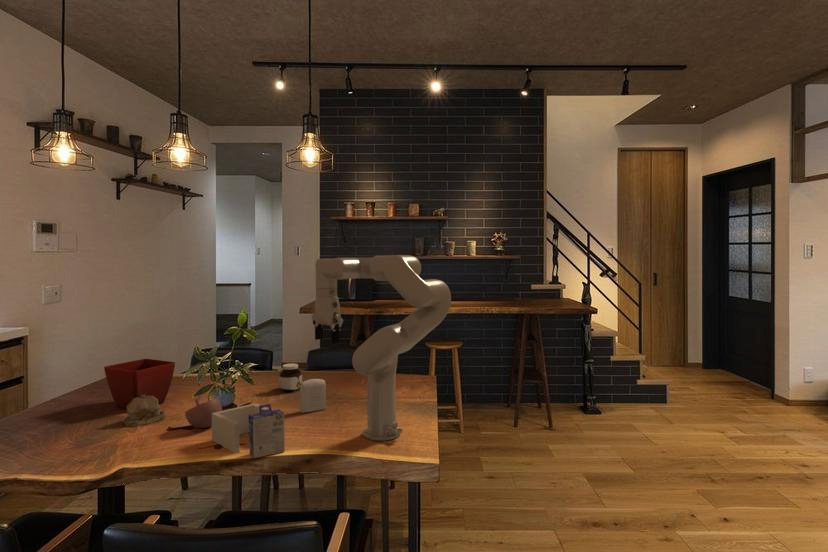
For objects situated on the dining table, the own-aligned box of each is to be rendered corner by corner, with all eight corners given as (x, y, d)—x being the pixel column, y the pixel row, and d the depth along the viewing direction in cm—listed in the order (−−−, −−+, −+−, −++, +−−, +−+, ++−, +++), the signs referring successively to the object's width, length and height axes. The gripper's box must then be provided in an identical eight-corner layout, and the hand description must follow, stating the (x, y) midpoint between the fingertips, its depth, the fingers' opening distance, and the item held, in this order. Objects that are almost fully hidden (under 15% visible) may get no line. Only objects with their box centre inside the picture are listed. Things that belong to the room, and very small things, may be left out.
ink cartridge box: (279, 446, 158) (279, 401, 158) (285, 451, 154) (285, 405, 153) (248, 453, 153) (247, 406, 152) (253, 459, 148) (252, 411, 148)
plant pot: (177, 401, 210) (176, 361, 210) (135, 414, 193) (134, 371, 192) (146, 396, 218) (145, 358, 218) (103, 408, 201) (102, 366, 200)
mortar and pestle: (203, 420, 185) (203, 389, 184) (229, 423, 181) (228, 392, 180) (177, 430, 174) (177, 398, 173) (204, 434, 169) (203, 401, 169)
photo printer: (323, 406, 201) (322, 376, 200) (327, 409, 197) (327, 378, 197) (298, 411, 195) (298, 380, 195) (302, 414, 191) (302, 382, 191)
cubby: (279, 439, 164) (279, 412, 164) (234, 453, 153) (234, 424, 153) (255, 428, 175) (255, 403, 175) (212, 440, 164) (211, 413, 164)
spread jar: (288, 394, 220) (288, 368, 220) (270, 390, 226) (270, 365, 226) (307, 388, 230) (307, 363, 230) (290, 385, 236) (289, 360, 236)
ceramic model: (122, 429, 176) (121, 401, 176) (122, 420, 186) (121, 393, 186) (166, 422, 183) (165, 395, 183) (164, 414, 193) (163, 388, 193)
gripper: (350, 293, 174) (350, 342, 175) (321, 291, 186) (321, 337, 187) (332, 294, 169) (333, 344, 170) (303, 292, 181) (304, 339, 182)
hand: (327, 340), depth 178 cm, fingers open, 9 cm apart
